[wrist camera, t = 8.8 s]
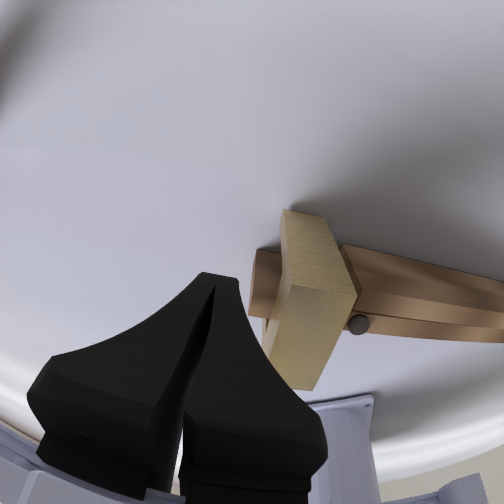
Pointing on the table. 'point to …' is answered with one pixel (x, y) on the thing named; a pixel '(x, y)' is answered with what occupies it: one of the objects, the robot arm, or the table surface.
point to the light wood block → (307, 301)
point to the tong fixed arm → (360, 322)
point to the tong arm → (422, 290)
